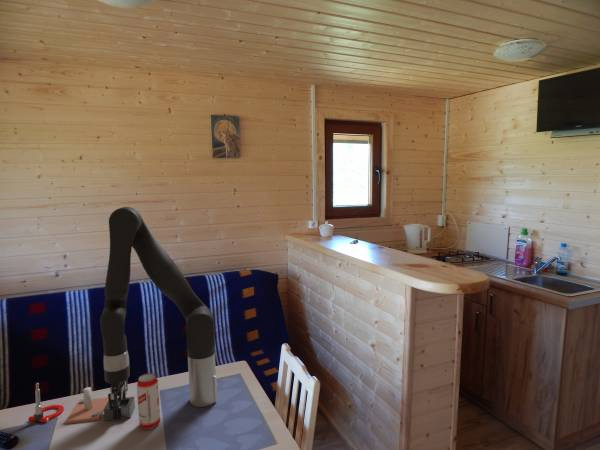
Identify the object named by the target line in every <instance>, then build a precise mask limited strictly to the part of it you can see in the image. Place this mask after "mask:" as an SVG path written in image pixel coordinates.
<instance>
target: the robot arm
mask: <svg viewBox="0 0 600 450" xmlns="http://www.w3.org/2000/svg"><path fill="white" fill-rule="evenodd" d="M108 229H109V230H108V231H109V257H108V263H107V271H106V278H105V284H104V304H103V310H102V314H101V315H100V319H99V325H100V332H101V337H102V344H103V345H102V346H103V347H102V348H103V371H104V372H103V373H104V381H105V383H107V384H110V385H111V386H110V389H109V391H110V392H109V393H108V395H107V397H108V400H109V408H110V410H113V419H119V420H121V419H120V418H121V400H122V399H123V398H127V397H126V396H127V395H128V394H127V392H128V390H129V389H128V388H129V387H128V379H129V378H130V375H131V372H130V371H131V369H130V356H129V351H128V341H127V340H128V339H127V336H126V332H125V330H126V329H125V319H126V315H127V303H128V296H129V295H128V294H129V290H130V284H131V283H130V281H131V269H132V268H131V258H132V250H134V252H135V253H136V255H137V257H138V258H139V259H138V260H139V262H140V263H141V266H142V268H143V269H144V271H145V273H146V275H147V276H148V278H149V279H150V281H151V282H152V283H153V284H154V285H155V287H156V288H157V289H158V290H159V291H160V292H161V293H162V294H163V295H164V296H166V297H167V298H168V299H169V300H171V301H172V302H173V303H174V304H175V306H177V308H178V309H179V311H180V312H181V314H182V316H183V318H184V320H185V321H186V322H185V329H186V330H185V332H186V333H185V334H186V348H187V350H186V351H187V366H188V367H187V369H188V387H189V388H188V389H189V391H188V392H189V403H190V404H191V405H192V406H193V407H198V408H202V407H203V408H204V407H207V406H210V405H212V404H216V403H217V399H218V391H217V390H218V387H217V369H216V368H217V367H216V339H215V338H216V336H215V335H216V334H215V320H214V315H213V313H212V311H211V310H210V308H209V307H208V306H207V305H206V304H205V303H204V302H203V301H202V300H201V299H200V298H199V297H198V296H197V295H196V293H195V292H194V290H193V289H192V287H191V286H190V284H189V281H188V280H187V279H186V277H185V276H184V274H183V273H182V271H181V269H180V268H179V267H178V265H177V264H176V263H175V261H174V260H173V259H172V257H171V256H170V255H169V254H168V252H167V251H166V250H165V248H164V247H162V245H160V243H159V242H158V241H157V240H156V238H155V237H154V236H153V235H152V233H151V231H150V230H149V227H148V226H147V224H146V222H145V220H144V219H143V217H142V216H141V214H140V212H139V211H138V210H137V209H135V208H133V207H130V206H123V207H120V208H116V209H115V210H113V211H112V213H111V214H110V215H109V217H108ZM114 404H116V405H114Z"/></svg>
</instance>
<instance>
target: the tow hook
mask: <svg viewBox="0 0 600 450" xmlns="http://www.w3.org/2000/svg"><path fill="white" fill-rule="evenodd" d="M39 386H40V384H39V382H36V383H35V412H34V414H33V415H31V416H29V417H28V421H29V422H35V423H49V421H50V420H51V419H54V418H57V417H59V416H60V415H61V414H62V413H63V412H64V410H65V407H64V406H63V405H61V404H51V405H47V406H44V407H42V405H41V391H40V390H41V389H40V387H39ZM54 409H55V410H57V411H56V412H54V413H52V414H47V415H45V416H44V413H45V411H48V410H54Z"/></svg>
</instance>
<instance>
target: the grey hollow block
mask: <svg viewBox="0 0 600 450" xmlns="http://www.w3.org/2000/svg"><path fill="white" fill-rule="evenodd" d="M135 401H136V400H135V396H129V397H128V396H127V397H126V398H123V399H122V400H121V418H120V419H113V410H110V408H109V401H108V403H107V405H106V406H105V408H104V412H103V418H104V422H107V421H117V420H118V421H119V420H125V419H131V418H132V416H133V414H134V411H135V409H136V405H135V404H136V403H135ZM114 405H116V404H114Z"/></svg>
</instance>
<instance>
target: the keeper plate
mask: <svg viewBox="0 0 600 450" xmlns="http://www.w3.org/2000/svg"><path fill="white" fill-rule="evenodd" d="M82 393H83V399H80V400H78V401H77V403H76V404H75V406H74V408H72V411H71V412H70V413H69V415H68V417H67V418H66V420H65V425H69V424H76V423H86V422H92V421H94V422H95V421H99V420H100V419H101V417H102V416H103V415H104V408H105V406H106V405H107V403H108V401H109V400H108V396H107V397H99V398H93V397H92V396H93V394H92V387H91V386H89V387H85V388H83V390H82Z"/></svg>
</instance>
